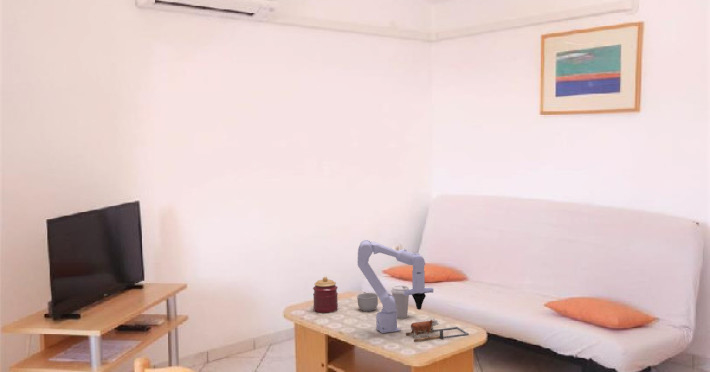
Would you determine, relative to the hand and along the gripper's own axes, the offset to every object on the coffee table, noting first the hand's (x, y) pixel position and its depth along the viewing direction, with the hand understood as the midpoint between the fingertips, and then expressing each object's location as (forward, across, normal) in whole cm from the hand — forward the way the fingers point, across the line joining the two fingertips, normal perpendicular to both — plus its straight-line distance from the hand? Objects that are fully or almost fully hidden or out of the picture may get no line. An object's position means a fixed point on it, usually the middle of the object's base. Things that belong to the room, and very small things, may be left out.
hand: (418, 308), depth 290 cm
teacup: (+10, -11, +41) cm, 44 cm away
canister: (+10, -32, +48) cm, 58 cm away
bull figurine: (+10, -2, -10) cm, 14 cm away
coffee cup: (+10, 0, +22) cm, 24 cm away
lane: (+10, +11, -10) cm, 18 cm away
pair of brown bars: (+10, -3, -10) cm, 14 cm away
